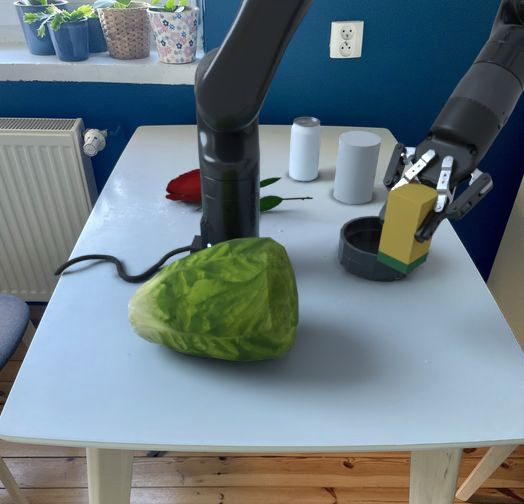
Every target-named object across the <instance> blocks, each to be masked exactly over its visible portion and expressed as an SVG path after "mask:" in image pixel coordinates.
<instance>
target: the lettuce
mask: <svg viewBox="0 0 524 504" xmlns="http://www.w3.org/2000/svg"><path fill="white" fill-rule="evenodd" d="M291 261H292V260H291V259H290V257H289V254H288V252H287V249H286V247H285V246H284V245H282V244H281V243H279V242H278V241H277V240H275V239H273V238H272V237H271V236H259V237H251V238H240V239H233V240H229V241H225V242H222V243H218V244H215V245H213V246H211V247H208V248H206V249H203V250H200V251H198V252H195V253H192V254H190V253H189V254H187V255H185V256H183V257H181V258H179V259H177V260H174V261H173V262H171V263H169V264H167V265H166V266H164V267H163V268H162V269H161V270H160V271H158V272H157V273H156V274H155V275H154V276H153V277H152V278H150V279H149V280H147V281H146V282H144V283H142V284H141V285H140V286H139V287H138V288H137V289H136V290H135V292H134V293H133V294H132V296H131V298H130V299H129V301H128V305H127V316H128V323H129V326H130V328H131V330H132V331H133V332H134V333H135V334H136V335H137V336H139V337H140V338H141V339H143V340H144V341H147V342H148V343H152V344H155V345H159V346H163V347H166V348H168V349H171V350H173V351H176V352H180V353H182V354H187V355H191V356H192V355H193V356H197V357H201V358H214V359H221V360H226V361H233V362H234V361H235V362H254V361H264V360H271V359H278V358H282V357H284V355H285V354H286V353H287V352H288V351H289V350H290V349H291V348H293V346H294V344H295V342H296V336H297V332H298V327H299V323H300V307H299V305H300V304H299V302H300V301H299V300H300V299H299V291H298V284H297V278H296V274H295V273H296V272H295V268H294V266H293V263H292V262H291Z"/></svg>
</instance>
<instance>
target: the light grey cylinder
mask: <svg viewBox="0 0 524 504" xmlns="http://www.w3.org/2000/svg"><path fill="white" fill-rule="evenodd" d="M381 143H382V138H381V136H379V135H378V134H375V133H373V132H369V131H364V130H351V131H345V132H343V133H341V134H340V135H339V139H338V149H337V158H336V167H335V175H334V176H335V177H334V184H333V185H334V186H333V197H334V199H336V200H337V201H338V202H341V203H344V204H349V205H362V204H366V203H368V202H371V200H372V199H373V192H374V188H375V187H374V186H375V182H376V181H375V180H376V173H377V168H378V164H379V163H378V162H379V156H380V151H381Z"/></svg>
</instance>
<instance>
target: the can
mask: <svg viewBox="0 0 524 504" xmlns="http://www.w3.org/2000/svg"><path fill="white" fill-rule="evenodd" d="M321 143H322V125H321V120H320V119H318V118H316V117H312V116H300V117H296V118H294V120H293V124H292V126H291V128H290V144H289V163H288V164H289V165H288V176H289V177H290V178H291V179H292V180H294V181H297V182H302V183H308V182H312V181H314V180H316V178H318V175H319V164H320V154H321Z"/></svg>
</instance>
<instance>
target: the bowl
mask: <svg viewBox="0 0 524 504" xmlns="http://www.w3.org/2000/svg"><path fill="white" fill-rule="evenodd" d="M379 219H380V217H379V215H364V216H359V217H356V218H352V219H350V220H348V221H346V222H345V223H344V224H343V225H342V227H341V228H340V230H339V238H338V245H337V246H338V247H337V260H338V261H339V262H340V264H341V265H342V267H344V268H345V270H347V271H348V272H350V273H351V274H353V275H355V276H357V277H359V278H363V279H366V280H372V281H379V282H380V281H381V282H384V281H394V280H399V279H402V278H403V277H406V276H408V275H409V274H411V273H412V272H413V271H414V270H412V271H411V272H409V273H407V274H404V273H402V272H400V271H398V270H396V269H394V268H392V267H390V266H388V265H386V264H384V263H382V262H380V261H378V260H377V256H378V251H379V245H380V240H381V234H382V229H383V226H382V225H381V223H380V222H379Z"/></svg>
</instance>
